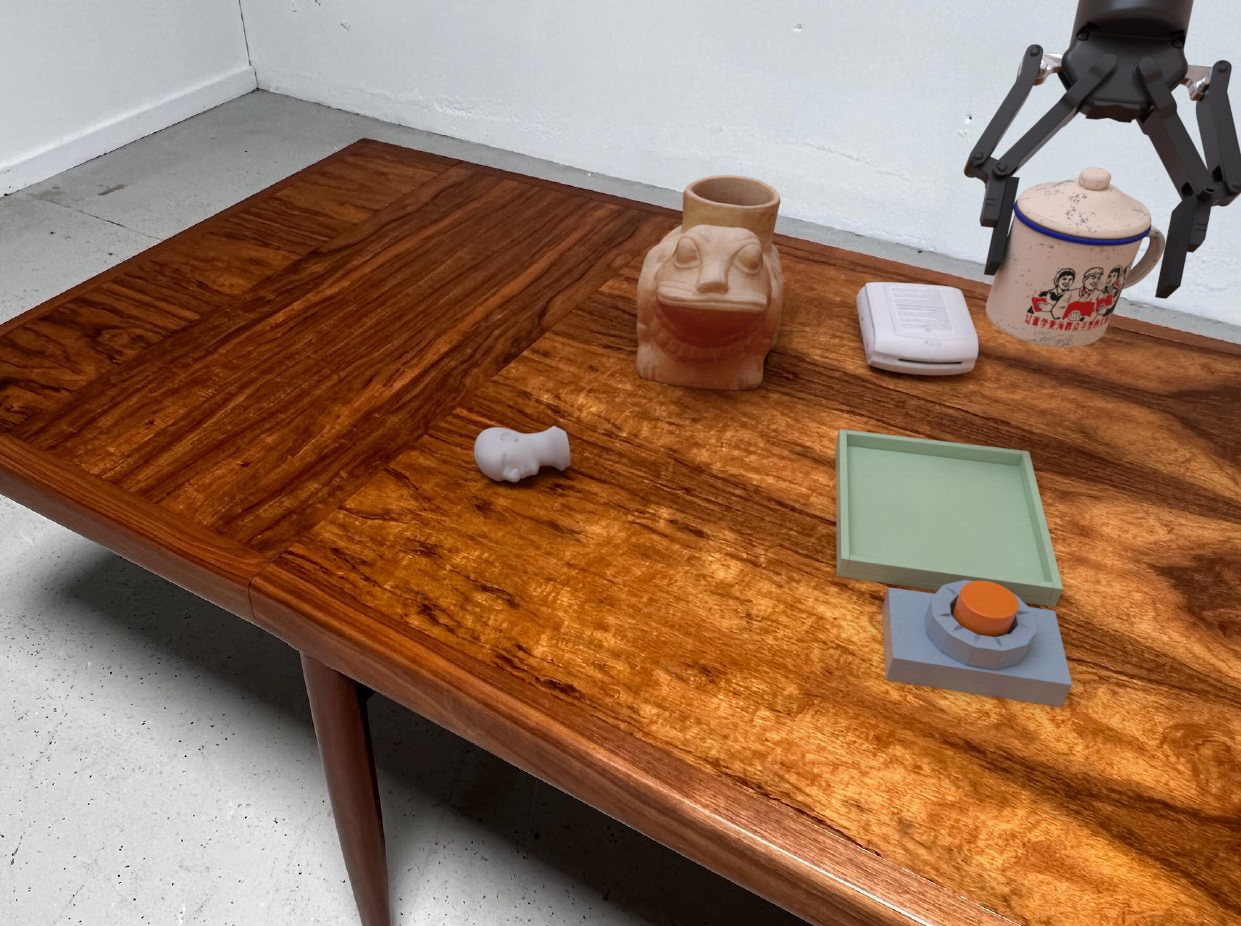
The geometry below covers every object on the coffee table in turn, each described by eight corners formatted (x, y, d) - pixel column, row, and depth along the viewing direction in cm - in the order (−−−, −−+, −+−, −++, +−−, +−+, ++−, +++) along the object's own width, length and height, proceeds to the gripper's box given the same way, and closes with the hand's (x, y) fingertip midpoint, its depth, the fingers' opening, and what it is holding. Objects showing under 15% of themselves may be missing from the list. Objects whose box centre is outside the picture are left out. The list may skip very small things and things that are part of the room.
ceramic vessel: (615, 405, 97) (626, 249, 87) (651, 277, 116) (662, 137, 107) (771, 423, 94) (800, 264, 85) (780, 289, 114) (805, 147, 104)
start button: (1007, 603, 72) (1015, 584, 70) (1014, 641, 69) (1022, 621, 68) (951, 595, 72) (957, 576, 71) (955, 632, 69) (963, 613, 68)
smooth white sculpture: (472, 494, 89) (478, 445, 91) (569, 498, 88) (572, 448, 91) (468, 463, 85) (474, 413, 88) (568, 467, 84) (572, 416, 87)
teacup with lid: (1017, 356, 78) (1071, 201, 71) (959, 297, 85) (1003, 150, 77) (1168, 343, 79) (1238, 190, 72) (1100, 286, 86) (1157, 141, 79)
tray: (1022, 468, 89) (1029, 451, 88) (1055, 607, 76) (1063, 588, 75) (835, 446, 92) (839, 428, 91) (836, 576, 79) (841, 558, 78)
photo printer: (850, 316, 109) (864, 380, 100) (859, 277, 107) (873, 339, 97) (955, 322, 108) (978, 388, 99) (966, 283, 106) (991, 347, 96)
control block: (1045, 633, 74) (1064, 590, 72) (1061, 708, 69) (1082, 665, 67) (881, 609, 76) (894, 567, 74) (885, 680, 71) (899, 637, 69)
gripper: (1291, 36, 80) (1236, 320, 79) (959, 11, 85) (903, 275, 84) (1344, -27, 72) (1284, 285, 71) (978, -50, 78) (917, 238, 77)
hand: (1078, 280), depth 78 cm, fingers closed on teacup with lid, 11 cm apart
